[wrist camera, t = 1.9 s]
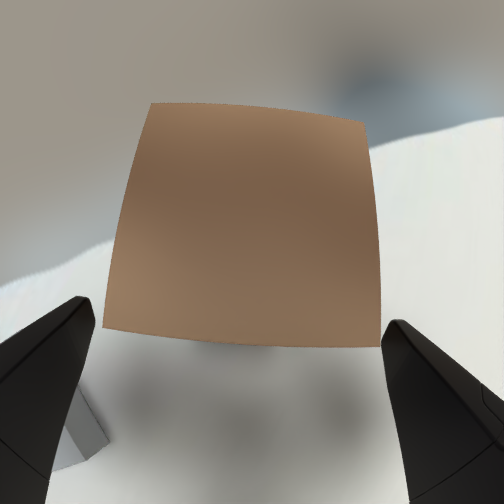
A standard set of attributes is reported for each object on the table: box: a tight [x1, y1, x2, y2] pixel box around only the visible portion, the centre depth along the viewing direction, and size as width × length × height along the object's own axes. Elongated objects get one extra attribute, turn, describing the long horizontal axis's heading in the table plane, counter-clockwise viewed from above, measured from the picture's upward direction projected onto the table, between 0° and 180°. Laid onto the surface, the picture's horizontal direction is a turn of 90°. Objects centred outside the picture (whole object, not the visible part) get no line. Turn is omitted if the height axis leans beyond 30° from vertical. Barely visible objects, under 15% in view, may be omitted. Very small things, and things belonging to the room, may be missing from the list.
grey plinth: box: [0, 329, 110, 472], centre depth 13 cm, size 8×8×4 cm
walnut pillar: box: [102, 103, 381, 347], centre depth 12 cm, size 5×5×13 cm
